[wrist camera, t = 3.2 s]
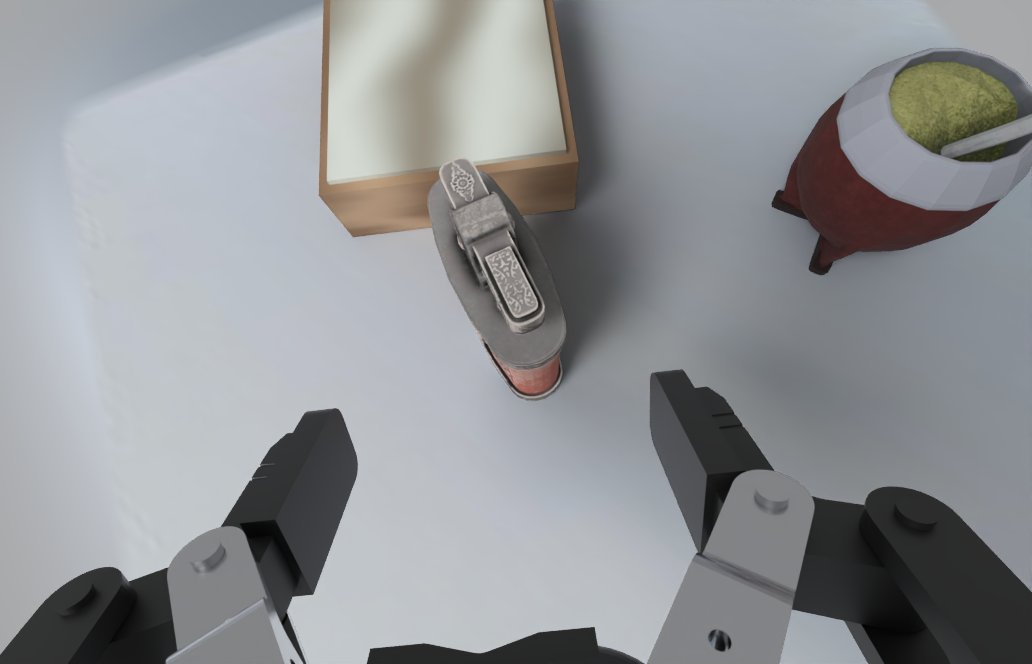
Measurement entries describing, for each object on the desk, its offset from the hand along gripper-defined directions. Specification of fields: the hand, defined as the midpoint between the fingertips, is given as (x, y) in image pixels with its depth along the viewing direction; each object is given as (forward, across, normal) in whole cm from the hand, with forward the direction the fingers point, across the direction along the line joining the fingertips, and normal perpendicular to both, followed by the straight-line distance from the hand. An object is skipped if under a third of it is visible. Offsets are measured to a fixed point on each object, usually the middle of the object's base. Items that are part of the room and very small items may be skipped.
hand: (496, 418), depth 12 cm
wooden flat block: (+20, +2, -6) cm, 21 cm away
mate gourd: (+14, -17, +1) cm, 22 cm away
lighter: (+12, 0, +3) cm, 12 cm away
